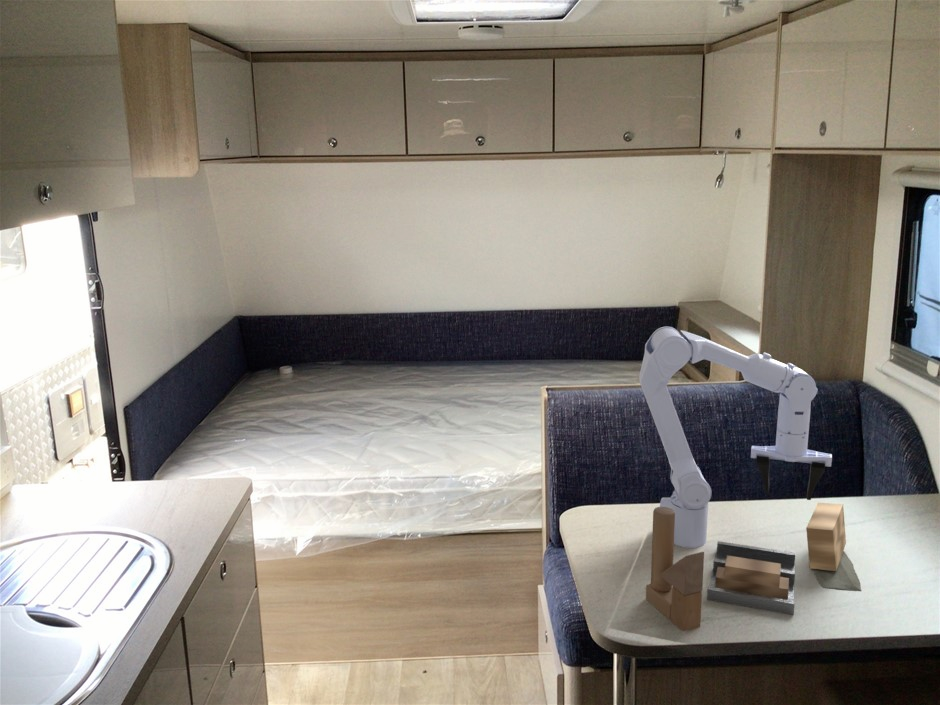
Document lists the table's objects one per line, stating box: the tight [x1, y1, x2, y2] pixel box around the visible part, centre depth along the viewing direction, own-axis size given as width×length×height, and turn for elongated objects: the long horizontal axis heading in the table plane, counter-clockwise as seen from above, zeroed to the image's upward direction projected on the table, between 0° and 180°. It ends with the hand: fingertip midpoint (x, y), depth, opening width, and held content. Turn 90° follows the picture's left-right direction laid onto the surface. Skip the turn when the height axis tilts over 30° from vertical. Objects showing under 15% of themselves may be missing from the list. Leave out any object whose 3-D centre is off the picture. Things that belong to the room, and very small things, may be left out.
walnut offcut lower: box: [715, 567, 789, 600], centre depth 140 cm, size 12×4×2 cm, turn 68°
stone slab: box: [813, 550, 862, 592], centre depth 150 cm, size 22×3×10 cm
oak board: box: [805, 502, 847, 571], centre depth 149 cm, size 12×4×8 cm, turn 147°
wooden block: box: [645, 506, 705, 632], centre depth 132 cm, size 4×11×18 cm, turn 22°
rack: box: [706, 540, 796, 616], centre depth 143 cm, size 14×19×3 cm
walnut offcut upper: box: [725, 555, 781, 588], centre depth 139 cm, size 9×4×2 cm, turn 68°
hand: (787, 495), depth 156 cm, fingers open, 7 cm apart
